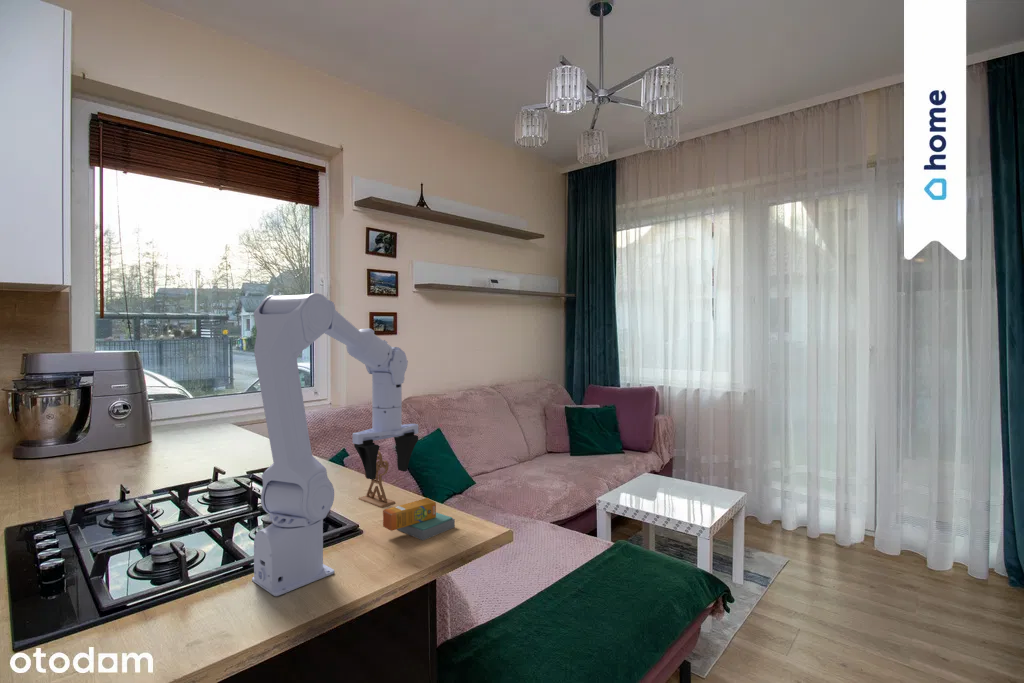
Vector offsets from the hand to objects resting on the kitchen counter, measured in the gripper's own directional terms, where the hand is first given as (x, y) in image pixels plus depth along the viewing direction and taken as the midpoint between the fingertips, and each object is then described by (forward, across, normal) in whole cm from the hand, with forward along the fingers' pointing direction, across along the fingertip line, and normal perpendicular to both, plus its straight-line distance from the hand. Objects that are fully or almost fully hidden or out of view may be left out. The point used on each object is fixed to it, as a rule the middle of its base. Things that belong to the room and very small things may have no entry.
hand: (387, 474), depth 100 cm
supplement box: (+6, -5, -7) cm, 11 cm away
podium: (+10, +3, -8) cm, 13 cm away
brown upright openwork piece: (+10, +6, +12) cm, 17 cm away
